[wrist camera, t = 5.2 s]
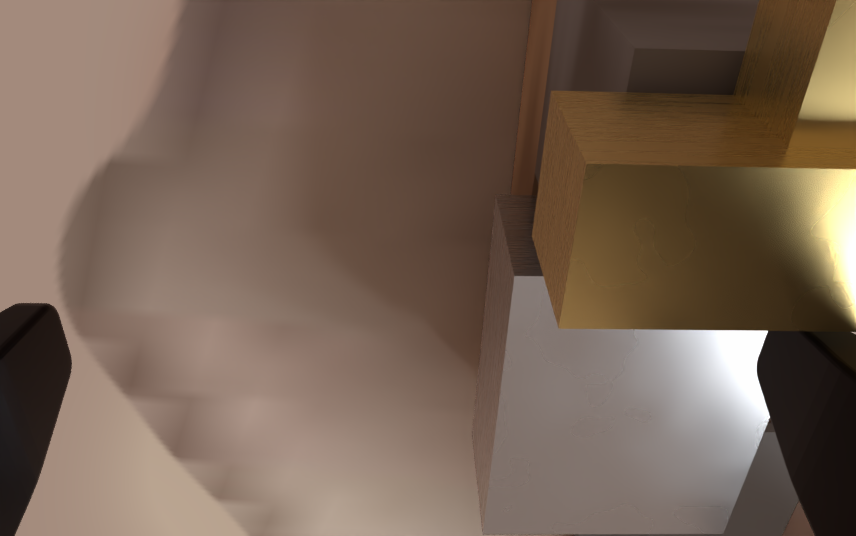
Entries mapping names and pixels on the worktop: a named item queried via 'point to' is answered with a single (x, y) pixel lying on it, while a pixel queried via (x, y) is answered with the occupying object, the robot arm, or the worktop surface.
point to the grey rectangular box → (604, 411)
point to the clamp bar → (711, 191)
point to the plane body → (624, 57)
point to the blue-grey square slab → (757, 496)
